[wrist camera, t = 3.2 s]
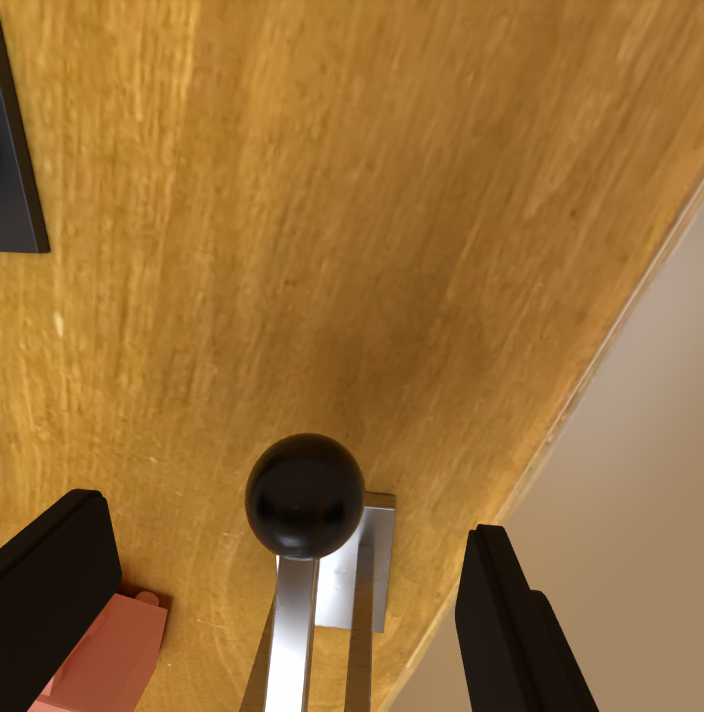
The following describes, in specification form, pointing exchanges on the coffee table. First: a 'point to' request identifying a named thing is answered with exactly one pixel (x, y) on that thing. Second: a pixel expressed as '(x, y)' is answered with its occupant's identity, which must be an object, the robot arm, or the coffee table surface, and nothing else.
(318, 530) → the lever
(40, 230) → the button block
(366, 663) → the lever stand
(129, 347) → the coffee table surface
